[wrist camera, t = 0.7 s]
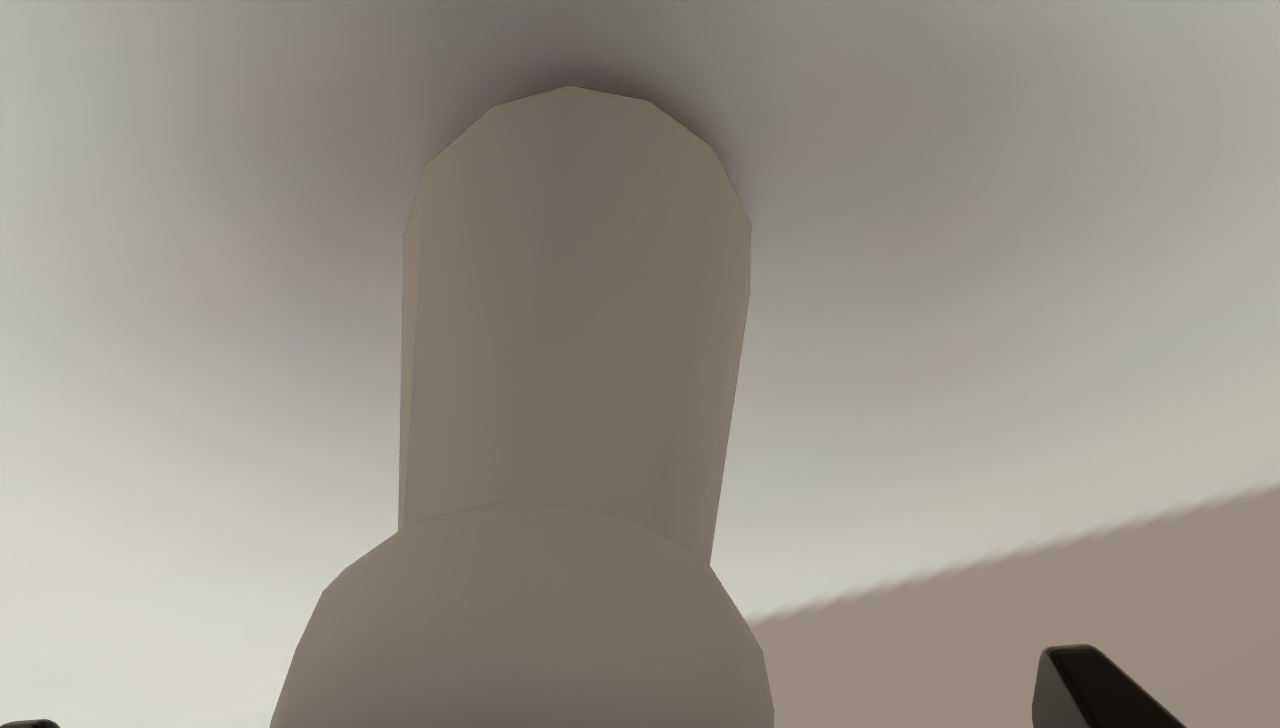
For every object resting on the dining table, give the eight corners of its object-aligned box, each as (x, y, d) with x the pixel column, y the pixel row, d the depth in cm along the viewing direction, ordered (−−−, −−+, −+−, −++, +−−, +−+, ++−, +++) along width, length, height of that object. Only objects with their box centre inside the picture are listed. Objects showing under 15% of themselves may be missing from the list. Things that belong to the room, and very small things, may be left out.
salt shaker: (575, 385, 21) (501, 1119, 10) (367, 191, 18) (-45, 873, 7) (801, 219, 18) (1036, 914, 8) (601, -23, 16) (518, 476, 5)
